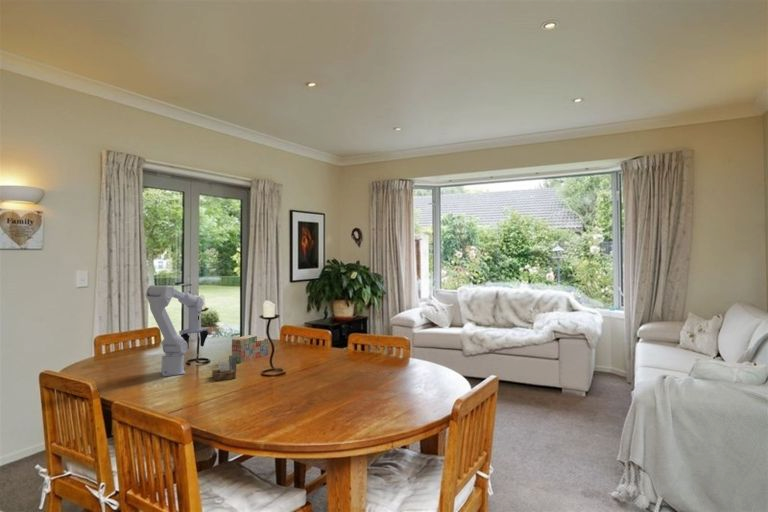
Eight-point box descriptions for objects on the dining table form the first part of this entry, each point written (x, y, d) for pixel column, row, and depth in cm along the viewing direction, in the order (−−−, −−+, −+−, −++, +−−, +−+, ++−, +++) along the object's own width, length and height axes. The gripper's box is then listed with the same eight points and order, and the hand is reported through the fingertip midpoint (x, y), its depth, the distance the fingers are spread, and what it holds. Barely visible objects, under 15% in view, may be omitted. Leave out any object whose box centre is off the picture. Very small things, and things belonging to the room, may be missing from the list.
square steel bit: (220, 379, 195) (220, 363, 195) (218, 377, 198) (218, 361, 198) (229, 378, 197) (229, 362, 197) (227, 375, 200) (227, 360, 200)
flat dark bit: (232, 372, 205) (232, 358, 205) (229, 370, 210) (229, 355, 210) (236, 372, 206) (236, 357, 206) (233, 369, 211) (233, 355, 211)
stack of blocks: (259, 353, 246) (259, 332, 246) (268, 354, 243) (268, 333, 243) (231, 362, 226) (231, 338, 226) (240, 363, 224) (240, 339, 224)
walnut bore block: (216, 381, 192) (216, 374, 192) (212, 376, 199) (212, 370, 199) (235, 378, 196) (235, 371, 196) (231, 373, 203) (231, 367, 203)
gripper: (183, 322, 209) (183, 350, 210) (212, 319, 220) (212, 346, 220) (177, 321, 214) (177, 348, 214) (206, 318, 225) (205, 344, 225)
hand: (194, 347), depth 218 cm, fingers open, 7 cm apart
